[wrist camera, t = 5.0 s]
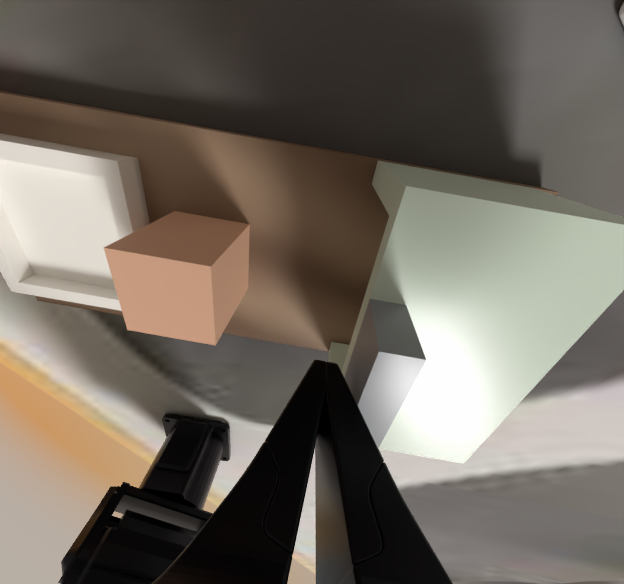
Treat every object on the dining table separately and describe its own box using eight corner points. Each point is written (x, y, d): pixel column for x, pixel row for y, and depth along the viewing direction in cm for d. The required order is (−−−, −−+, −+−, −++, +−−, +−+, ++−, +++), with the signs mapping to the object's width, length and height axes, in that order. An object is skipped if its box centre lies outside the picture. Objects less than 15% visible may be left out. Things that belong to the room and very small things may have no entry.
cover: (429, 370, 18) (485, 524, 11) (328, 352, 18) (321, 496, 11) (532, 187, 12) (816, 279, 5) (377, 160, 12) (434, 211, 5)
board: (441, 359, 19) (447, 372, 18) (53, 291, 19) (37, 300, 18) (542, 187, 13) (559, 192, 12) (-38, 83, 13) (-71, 80, 12)
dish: (164, 303, 17) (151, 316, 16) (33, 280, 17) (10, 291, 16) (137, 157, 13) (117, 161, 12) (-40, 126, 13) (-79, 126, 12)
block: (248, 288, 16) (215, 345, 12) (182, 276, 16) (127, 329, 12) (249, 224, 14) (211, 266, 10) (174, 211, 14) (103, 247, 10)
